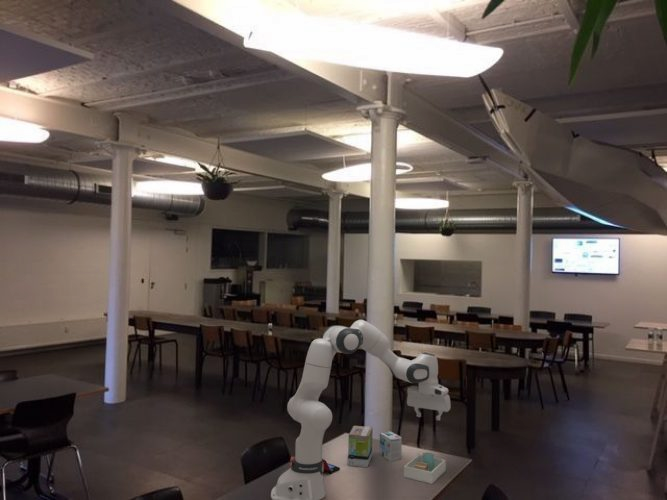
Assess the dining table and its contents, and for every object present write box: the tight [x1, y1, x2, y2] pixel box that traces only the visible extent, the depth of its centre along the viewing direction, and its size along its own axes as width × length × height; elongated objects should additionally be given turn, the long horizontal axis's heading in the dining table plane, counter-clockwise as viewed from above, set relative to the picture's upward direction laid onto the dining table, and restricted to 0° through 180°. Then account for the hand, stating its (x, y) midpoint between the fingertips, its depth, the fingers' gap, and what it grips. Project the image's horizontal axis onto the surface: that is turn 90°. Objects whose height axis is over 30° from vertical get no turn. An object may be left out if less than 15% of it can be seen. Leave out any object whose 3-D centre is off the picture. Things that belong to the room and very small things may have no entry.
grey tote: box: [403, 454, 447, 485], centre depth 235 cm, size 17×13×5 cm
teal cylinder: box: [422, 452, 435, 472], centre depth 238 cm, size 5×5×7 cm
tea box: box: [347, 425, 374, 468], centre depth 251 cm, size 15×10×15 cm, turn 168°
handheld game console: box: [323, 458, 341, 475], centre depth 240 cm, size 12×11×7 cm
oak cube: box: [414, 462, 429, 471], centre depth 232 cm, size 5×5×5 cm
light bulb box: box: [379, 431, 403, 462], centre depth 256 cm, size 11×7×11 cm, turn 25°
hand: (428, 418), depth 239 cm, fingers open, 8 cm apart
